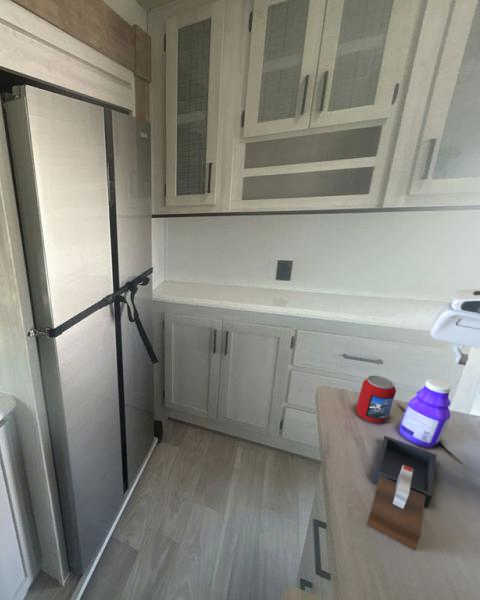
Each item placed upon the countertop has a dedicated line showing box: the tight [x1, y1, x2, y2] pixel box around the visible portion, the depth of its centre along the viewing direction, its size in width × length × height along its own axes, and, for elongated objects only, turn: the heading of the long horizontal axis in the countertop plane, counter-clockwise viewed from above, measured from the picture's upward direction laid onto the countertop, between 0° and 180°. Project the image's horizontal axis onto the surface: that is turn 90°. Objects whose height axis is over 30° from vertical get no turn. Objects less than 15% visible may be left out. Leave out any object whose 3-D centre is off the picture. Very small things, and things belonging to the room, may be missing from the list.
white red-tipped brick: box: [393, 465, 413, 509], centre depth 67 cm, size 8×2×4 cm, turn 133°
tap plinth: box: [366, 476, 425, 551], centre depth 67 cm, size 11×7×4 cm, turn 133°
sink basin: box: [370, 435, 437, 509], centre depth 75 cm, size 14×9×4 cm, turn 133°
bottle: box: [399, 378, 452, 449], centre depth 81 cm, size 7×6×17 cm
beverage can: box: [355, 375, 397, 424], centre depth 90 cm, size 7×7×12 cm
